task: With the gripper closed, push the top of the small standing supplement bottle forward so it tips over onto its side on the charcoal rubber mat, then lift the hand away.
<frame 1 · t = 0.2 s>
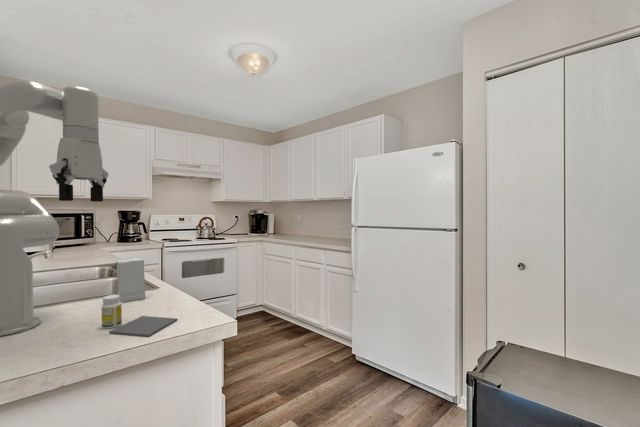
hand: (82, 201, 82), 36 cm above the countertop, tool pointing down, fingers open, 9 cm apart
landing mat: (145, 326, 88), on the countertop
supplement bottle: (111, 326, 89), on the countertop
skincare box: (131, 299, 114), on the countertop
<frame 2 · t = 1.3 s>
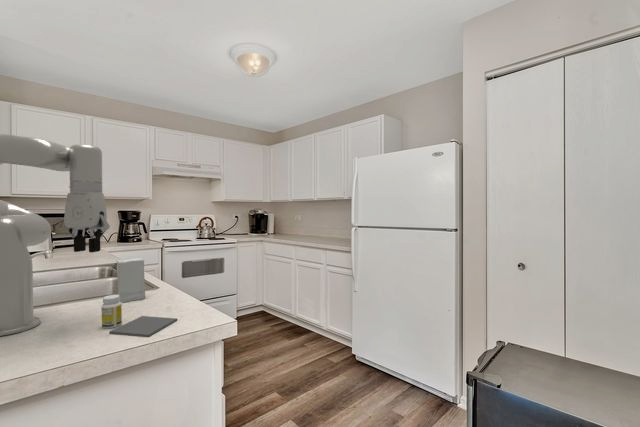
hand: (87, 250, 90), 21 cm above the countertop, tool pointing down, fingers open, 4 cm apart
nothing on the countertop moved.
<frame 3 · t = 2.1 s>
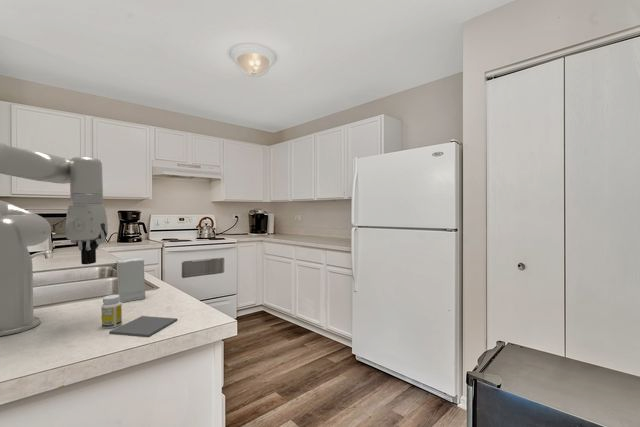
hand: (88, 263, 90), 18 cm above the countertop, tool pointing down, fingers closed
nothing on the countertop moved.
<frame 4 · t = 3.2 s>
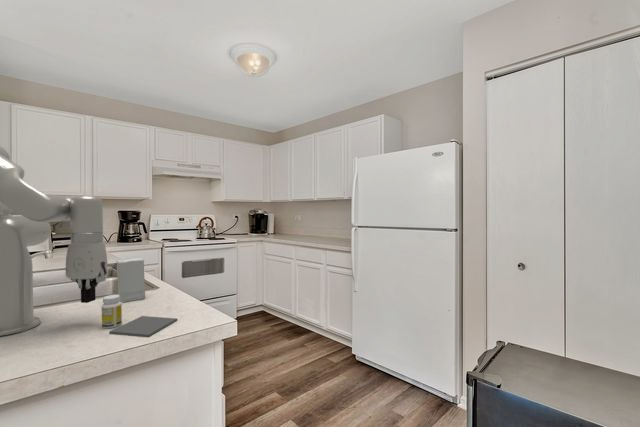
hand: (88, 301, 90), 7 cm above the countertop, tool pointing down, fingers closed
nothing on the countertop moved.
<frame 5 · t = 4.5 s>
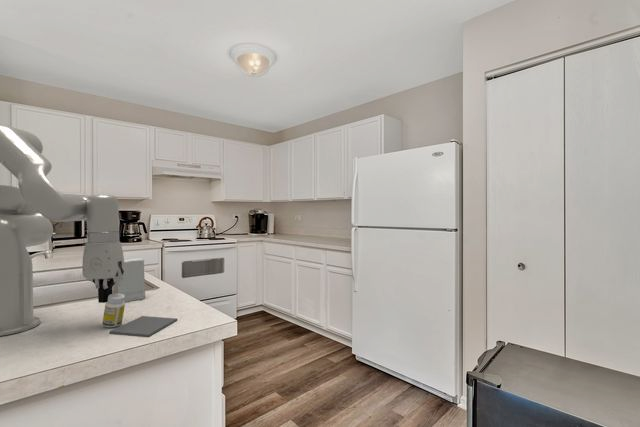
hand: (105, 301, 89), 7 cm above the countertop, tool pointing down, fingers closed
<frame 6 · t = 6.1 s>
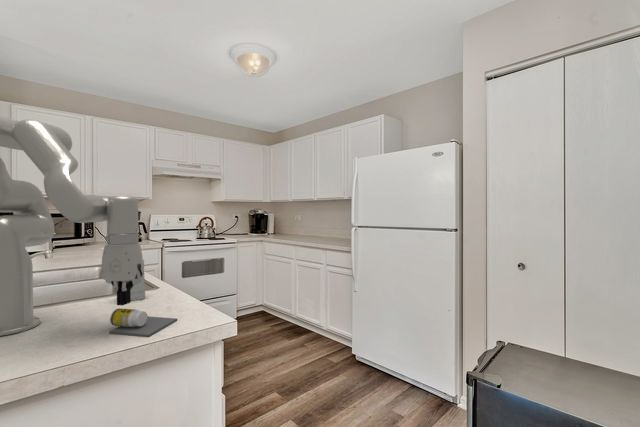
hand: (123, 303, 88), 7 cm above the countertop, tool pointing down, fingers closed
supplement bottle: (115, 316, 88), point 3 cm above the countertop, touching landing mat
everything else where it was.
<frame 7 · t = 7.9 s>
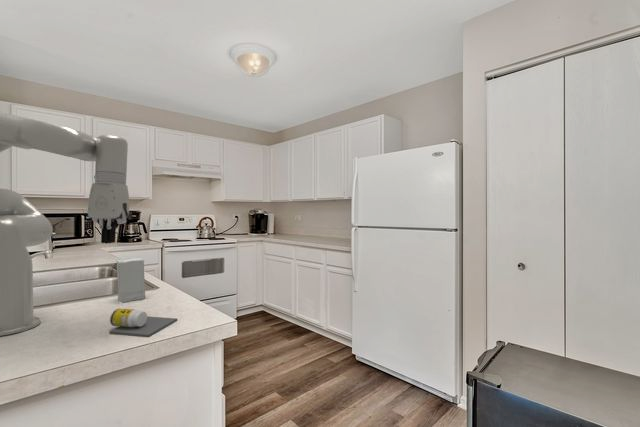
hand: (108, 242, 90), 24 cm above the countertop, tool pointing down, fingers closed
nothing on the countertop moved.
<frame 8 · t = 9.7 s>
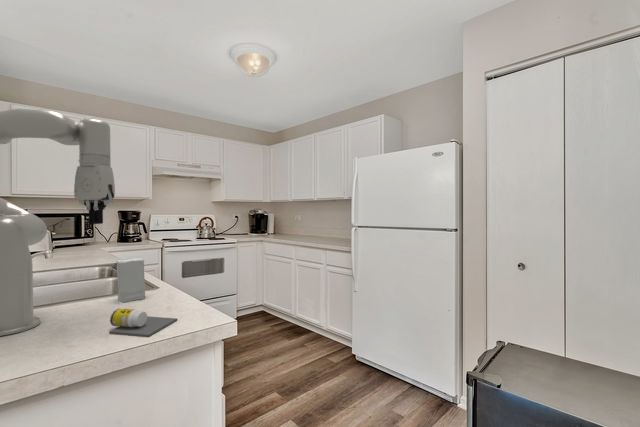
hand: (96, 223, 93), 29 cm above the countertop, tool pointing down, fingers closed
nothing on the countertop moved.
at the end: supplement bottle tilted 90°; supplement bottle inside the target area (5.1 cm from its centre), point 2.9 cm above the countertop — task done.
